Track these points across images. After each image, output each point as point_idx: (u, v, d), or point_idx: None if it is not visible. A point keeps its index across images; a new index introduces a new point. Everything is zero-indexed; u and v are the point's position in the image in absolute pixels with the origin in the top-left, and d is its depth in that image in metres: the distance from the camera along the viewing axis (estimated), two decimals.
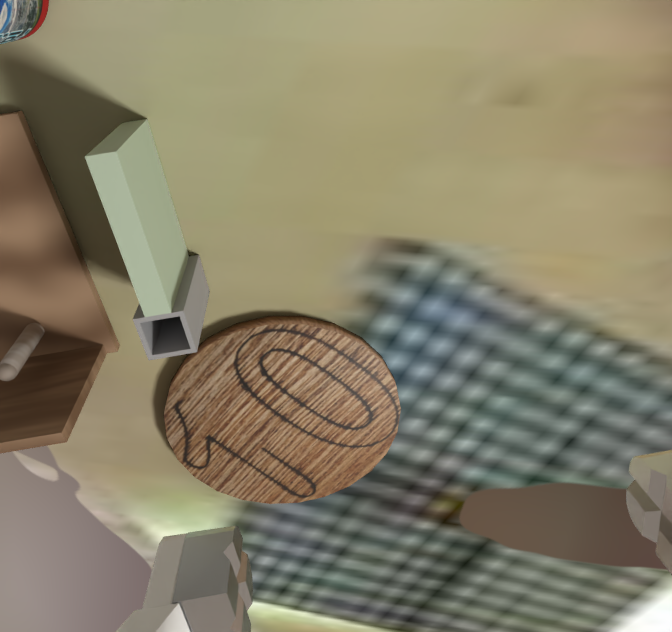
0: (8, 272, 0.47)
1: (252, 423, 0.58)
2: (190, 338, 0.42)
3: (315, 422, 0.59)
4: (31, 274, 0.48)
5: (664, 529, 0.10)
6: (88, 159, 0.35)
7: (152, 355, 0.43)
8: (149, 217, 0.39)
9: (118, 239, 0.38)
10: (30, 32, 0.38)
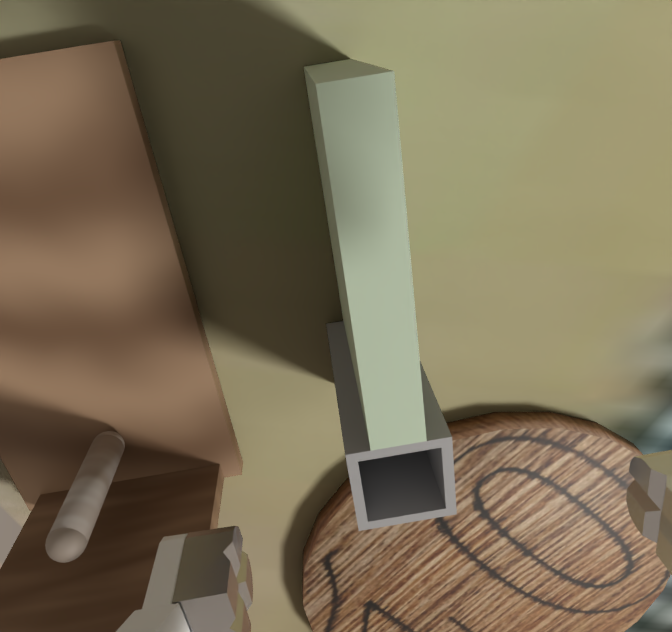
0: (70, 345, 0.26)
1: (442, 582, 0.36)
2: (450, 489, 0.20)
3: (540, 579, 0.36)
4: (110, 348, 0.27)
5: (664, 529, 0.10)
6: (323, 91, 0.14)
7: (368, 521, 0.21)
8: None
9: (352, 288, 0.16)
10: None
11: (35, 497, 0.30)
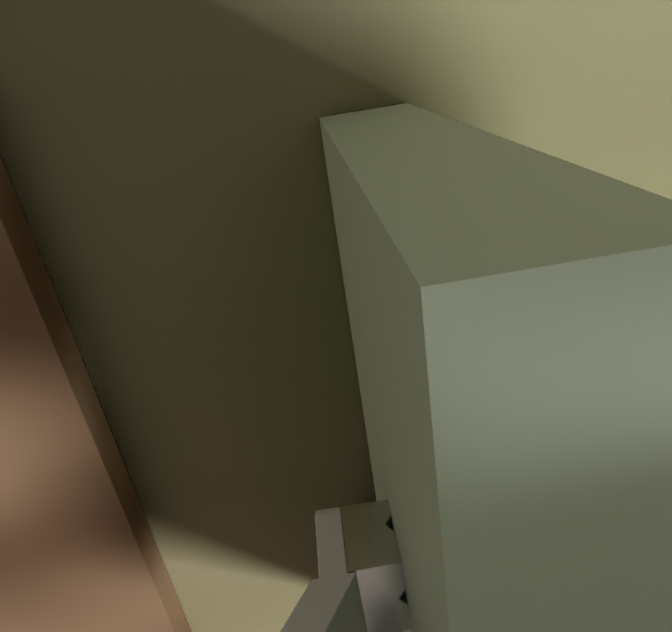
0: None
1: None
2: None
3: None
4: None
5: None
6: (450, 315, 0.03)
7: None
8: None
9: None
10: None
11: None
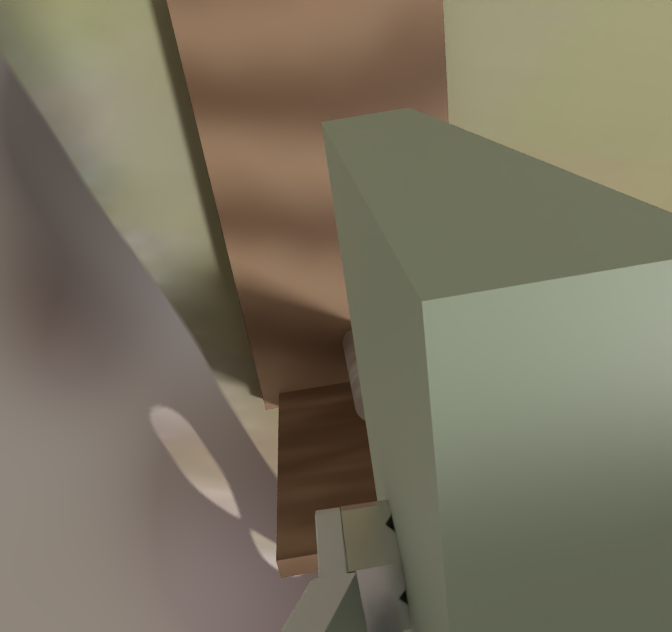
0: None
1: None
2: None
3: None
4: None
5: None
6: (451, 328, 0.03)
7: None
8: None
9: None
10: None
11: (274, 396, 0.33)
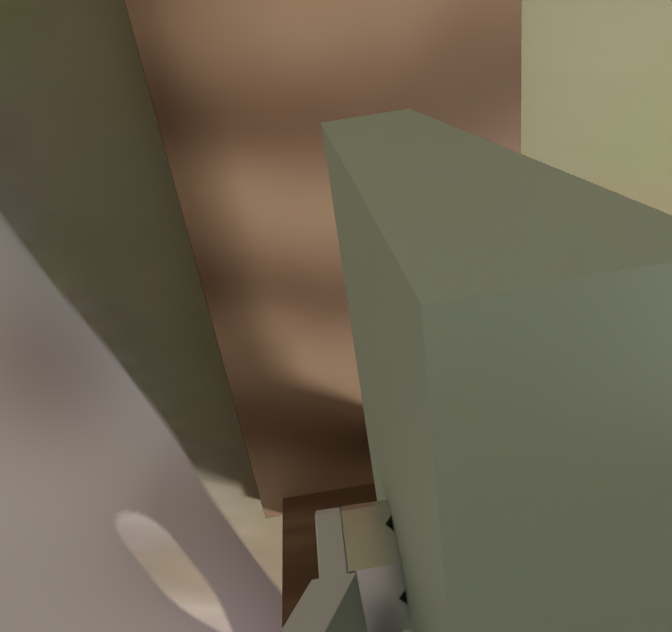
0: None
1: None
2: None
3: None
4: None
5: None
6: (450, 330, 0.03)
7: None
8: None
9: None
10: None
11: (276, 502, 0.25)
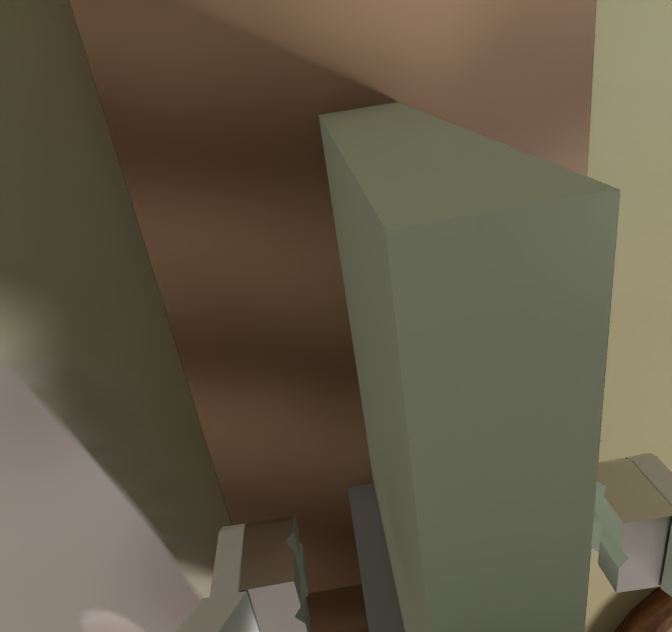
0: None
1: None
2: None
3: None
4: None
5: (604, 540, 0.10)
6: (407, 249, 0.05)
7: None
8: None
9: None
10: None
11: None
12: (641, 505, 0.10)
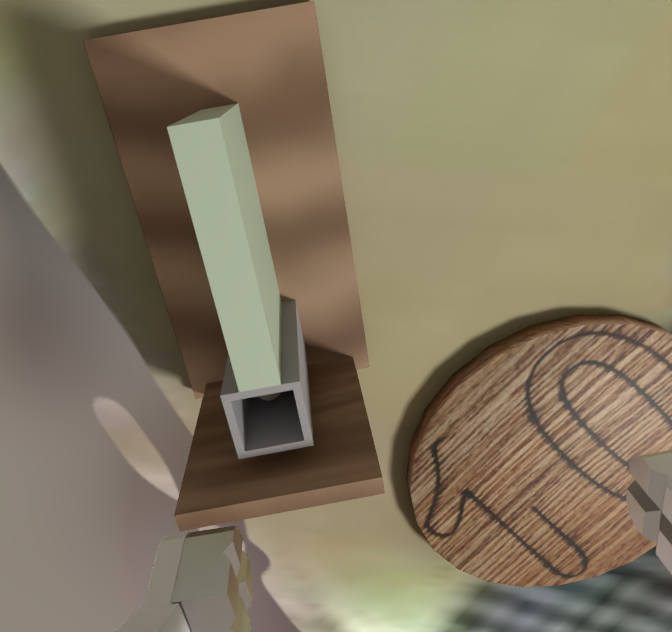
0: None
1: (528, 471, 0.42)
2: (305, 424, 0.27)
3: (611, 469, 0.43)
4: (279, 251, 0.34)
5: (664, 529, 0.10)
6: (172, 131, 0.21)
7: (245, 451, 0.27)
8: (252, 234, 0.25)
9: (209, 266, 0.23)
10: None
11: (201, 386, 0.37)
12: None
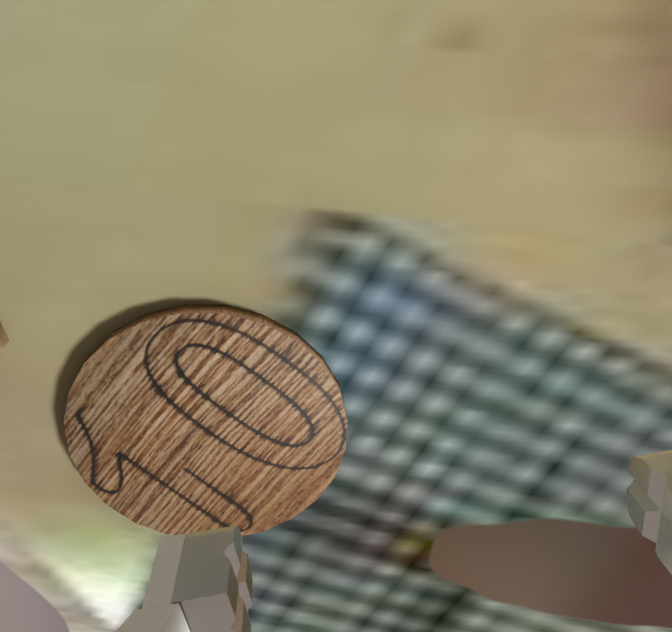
0: None
1: (170, 437, 0.49)
2: None
3: (246, 437, 0.50)
4: None
5: (664, 529, 0.10)
6: None
7: None
8: None
9: None
10: None
11: None
12: None
